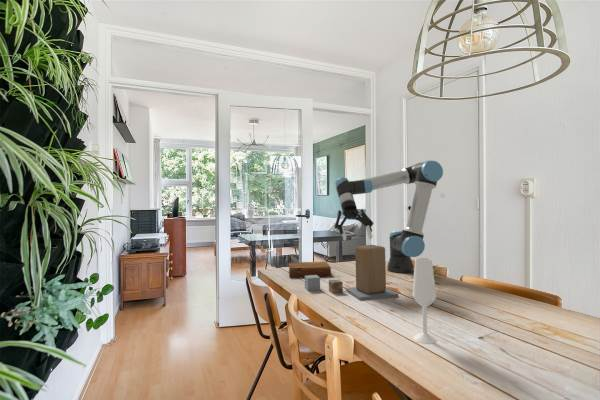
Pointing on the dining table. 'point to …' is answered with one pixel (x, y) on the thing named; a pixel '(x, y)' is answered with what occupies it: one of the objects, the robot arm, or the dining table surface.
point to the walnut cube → (335, 286)
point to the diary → (309, 269)
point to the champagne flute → (424, 293)
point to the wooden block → (370, 269)
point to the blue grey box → (312, 282)
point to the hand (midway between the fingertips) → (358, 238)
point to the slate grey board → (365, 296)
